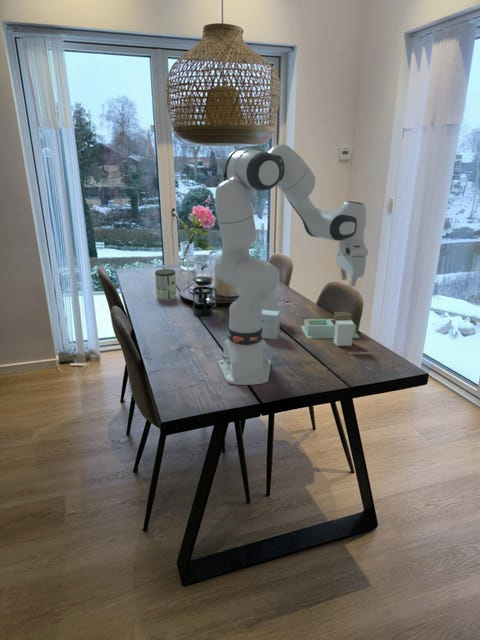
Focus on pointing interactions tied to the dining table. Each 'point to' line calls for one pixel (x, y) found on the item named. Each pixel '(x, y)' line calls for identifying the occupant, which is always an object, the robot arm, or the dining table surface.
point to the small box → (270, 324)
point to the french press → (203, 296)
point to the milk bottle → (270, 302)
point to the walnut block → (341, 316)
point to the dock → (322, 328)
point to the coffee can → (165, 284)
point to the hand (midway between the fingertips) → (347, 282)
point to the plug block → (343, 333)
